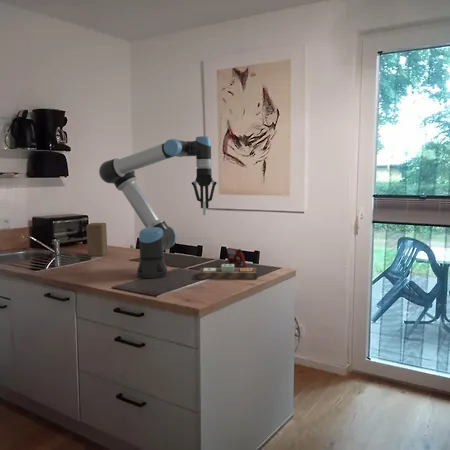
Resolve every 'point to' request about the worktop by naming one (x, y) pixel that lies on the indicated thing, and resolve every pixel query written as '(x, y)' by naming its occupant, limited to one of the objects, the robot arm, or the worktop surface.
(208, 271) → the tile
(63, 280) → the worktop surface
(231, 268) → the tile
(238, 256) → the toy fire truck
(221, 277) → the board
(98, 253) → the wooden block
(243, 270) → the tile
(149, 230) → the robot arm
